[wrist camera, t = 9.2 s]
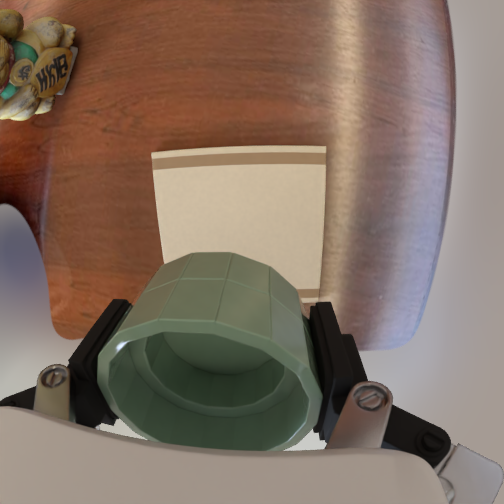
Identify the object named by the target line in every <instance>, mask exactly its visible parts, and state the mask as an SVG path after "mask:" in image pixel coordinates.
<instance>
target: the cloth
mask: <svg viewBox="0 0 504 504" xmlns="http://www.w3.org/2000/svg"><path fill="white" fill-rule="evenodd" d="M152 165H153V176H154V187H155V196H156V205H157V214H158V222H159V230H160V237H161V244H162V251H163V258H164V264H166V263H168V262H171V261H173V260H175V259H178V258H180V257H183V256H185V255H187V254H190V253H192V252H193V253H195V252H232V253H236V254H239V255H242V256H245V257H247V258H250V259H253V260H255V261H258V262H261V263H264V264H266V265H268V266H271V267H272V268H273V269H275V270H276V271H277V272H278V273H279V274H280V275H281V276H282V277H284V278H285V279H286V280H287V281H288V282H289V283H290V284H291V285H292V286H294V287H295V288H296V290H297V292H298V293H299V296H300V298H301V300H302V303H305V302H318V301H319V290H320V278H321V265H322V250H323V234H324V214H325V187H326V146H297V145H266V146H230V147H210V148H195V149H182V150H171V151H160V152H152Z"/></svg>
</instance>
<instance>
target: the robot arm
mask: <svg viewBox="0 0 504 504" xmlns="http://www.w3.org/2000/svg"><path fill="white" fill-rule="evenodd" d="M130 305H131V303H129V302H128V300H125V299H113V300H112V302H111V303H110V304H109V305H108V307H107V308H106V309H105V311H104V312H103V313H102V315H101V316H100V317H99V319H98V320H97V321H96V323H95V324H94V325H93V327H92V328H91V329H90V331H89V332H88V334H87V335H86V336H85V338H84V339H83V340H82V342H81V343H80V345H79V346H78V347H77V349H76V350H75V352H74V353H73V355H72V356H71V357H70V359H69V360H68V361H69V364H68V366H67V367H66V366H64V365H61V364H54V365H50V366H48V367H46V368H45V369H44V370H42V371H41V373H40V374H39V376H38V379H37V385H36V386H35V387H32V388H29V389H27V390H25V391H22V392H19V393H16V394H14V395H11V396H9V397H6V398H4V399H3V400H1V401H0V504H493V502H494V500H495V498H496V496H497V494H498V492H499V489H500V487H501V485H502V483H503V479H504V472H503V469H502V467H501V466H500V465H499V464H497V463H496V462H494V461H492V460H490V459H488V458H486V457H484V456H482V455H480V454H478V453H476V452H474V451H472V450H470V449H468V448H467V447H464V446H463V445H461V444H457V446H455V445H453V444H451V440H450V437H449V436H448V434H447V433H446V432H445V430H443V429H441V428H440V427H438V426H436V425H434V424H431V423H429V422H427V421H425V420H423V419H421V418H419V417H417V416H415V415H413V414H410V413H408V412H406V411H404V410H402V409H400V408H398V407H396V406H394V405H392V403H393V396H392V393H391V391H390V390H389V389H388V388H387V387H386V386H384V385H383V384H381V383H378V382H373V381H368V379H367V376H366V373H365V370H364V367H363V364H362V361H361V358H360V355H359V352H358V350H357V347H356V344H355V341H354V338H353V336H352V335H351V334H341V332H340V329H339V325H338V322H337V319H336V316H335V313H334V310H333V307H332V304H331V302H316V304H315V306H311V307H310V317H309V322H310V328H311V333H312V338H313V343H314V349H315V353H316V358H317V364H318V369H319V375H320V381H321V387H322V392H323V401H322V406H321V410H320V415H319V419H318V423H317V424H316V426H315V427H314V428H313V431H314V433H319V438H320V440H325V442H326V443H327V445H326V447H325V449H323V450H302V451H243V450H224V449H211V448H200V447H190V446H182V445H174V444H167V443H161V442H155V441H149V440H143V439H138V438H133V437H128V436H123V435H118V434H114V433H110V432H106V431H102V430H100V426H99V425H100V424H101V423H104V424H108V425H113V426H114V423H115V421H116V419H119V417H118V416H117V415H116V414H115V413H114V412H113V411H112V410H111V409H110V407H109V405H108V404H107V402H106V400H105V398H104V396H103V394H102V392H101V390H100V388H99V386H98V383H97V368H98V355H99V353H100V351H101V350H102V348H103V346H104V345H105V343H106V342H107V340H108V338H109V337H110V335H111V334H112V332H113V331H114V329H115V328H116V326H117V325H118V323H119V322H120V320H121V319H122V317H123V316H124V314H125V313H126V311H127V310H128V308H129V307H130Z"/></svg>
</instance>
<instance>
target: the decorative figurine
mask: <svg viewBox="0 0 504 504" xmlns="http://www.w3.org/2000/svg"><path fill="white" fill-rule="evenodd" d="M23 26H24V22H23V17H22V15H21V14H20V13H19V12H17V11H15V10H11V9H0V119H8V118H10V119H12V120H18V121H21V120H26V119H29V118H30V117H31V116H33V115H34V114H41V113H46V112H48V111H50V110H52V108H53V106H52V105H54V103H55V100H54V99H55V98H56V97H55V94H57V95H63V94H64V91H65V88H66V86H67V83H68V81H69V79H70V78H69V77H70V74H71V70H72V67H73V64H74V61H75V58H76V55H77V52H78V48H76V47H73V46H71V45H72V44H73V41H72V40H73V39H74V38H75V34H74V33H75V32H76V31H77V30H76V28H75V27H73V26H70V25H67V24H61V22H60V21H59V20H57V19H56V18H54V17H44V18H40V19H38V20H36V21H34V22H32V23H31V24H29V25H28V26H27V27H26V28H25V29H24V30H23Z"/></svg>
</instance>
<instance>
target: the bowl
mask: <svg viewBox="0 0 504 504" xmlns="http://www.w3.org/2000/svg"><path fill="white" fill-rule="evenodd" d="M97 383H98V386H99V388H100V390H101V392H102V394H103V396H104V398H105V400H106V402H107V404H108V405H109V407H110V409H111V410H112V411H113V412H114V413H115V414H116V415H117V416H118V417H119V418H120V419H121V420H122V421H123V422H124V423H125V424H126V425H127V426H129V428H131V429H132V430H133V431H134V432H135V433H137V434H139V435H140V436H142V437H144V438H146V439H147V440H149V441H155V442H161V443H167V444H174V445H182V446H190V447H200V448H211V449H224V450H243V451H283V450H285V449H287V448H290V447H292V446H294V445H296V444H297V443H299V442H300V441H301V440H302V439H303V438H304V437H305V436H306V435H307V434H308V433H309V432H310V431H311V430H312V429H313V428H314V427H315V426H316V424H317V423H318V419H319V415H320V410H321V406H322V401H323V392H322V387H321V381H320V375H319V369H318V364H317V358H316V353H315V349H314V343H313V338H312V333H311V328H310V322H309V317H308V315H307V312H306V310H305V308H304V305H303V303H302V300H301V298H300V296H299V293H298V292H297V290H296V288H295V287H294V286H292V285H291V284H290V283H289V282H288V281H287V280H286V279H285V278H284V277H282V276H281V275H280V274H279V273H278V272H277V271H276V270H275V269H273V268H272V267H271V266H268V265H266V264H264V263H261V262H258V261H255V260H253V259H250V258H247V257H245V256H242V255H239V254H236V253H232V252H195V253H193V252H192V253H190V254H187V255H185V256H183V257H180V258H178V259H175V260H173V261H171V262H168V263H166V264H164V265H162V266H161V267H160V268H159V269H158V270H157V271H156V272H155V273H154V275H153V276H152V277H151V278H150V279H149V280H148V282H147V283H146V284H145V285H144V286H143V288H142V289H141V290H140V292H139V293H138V295H137V296H136V298H135V299H134V301H133V302H132V304H131V305H130V307H129V308H128V310H127V311H126V313H125V314H124V316H123V317H122V319H121V320H120V322H119V323H118V325H117V326H116V328H115V329H114V331H113V332H112V334H111V335H110V337H109V338H108V340H107V342H106V343H105V345H104V346H103V348H102V350H101V351H100V353H99V355H98V368H97Z"/></svg>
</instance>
